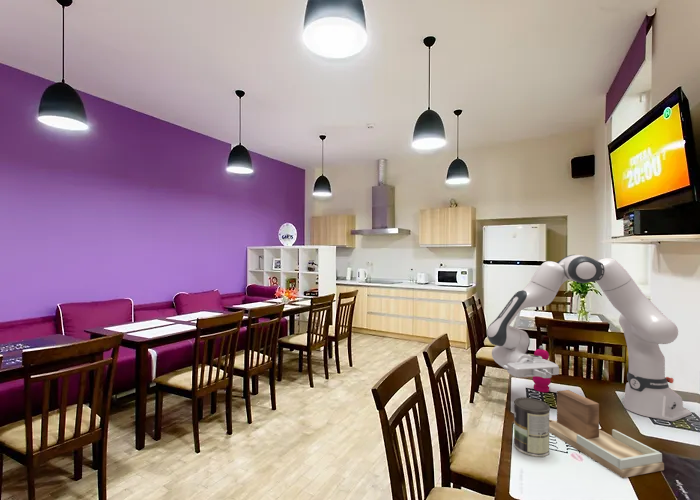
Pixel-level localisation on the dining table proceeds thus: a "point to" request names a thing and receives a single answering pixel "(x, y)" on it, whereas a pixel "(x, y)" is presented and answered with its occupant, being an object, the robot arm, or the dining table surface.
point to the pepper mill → (540, 382)
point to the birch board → (610, 446)
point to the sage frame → (624, 463)
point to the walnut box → (578, 414)
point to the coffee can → (531, 426)
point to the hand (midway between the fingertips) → (548, 376)
